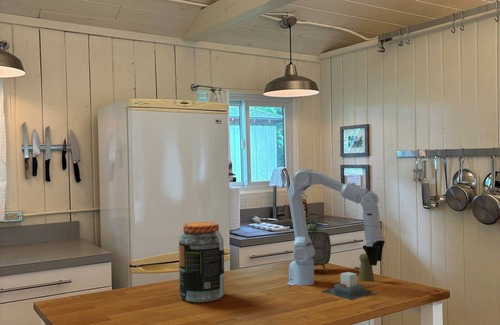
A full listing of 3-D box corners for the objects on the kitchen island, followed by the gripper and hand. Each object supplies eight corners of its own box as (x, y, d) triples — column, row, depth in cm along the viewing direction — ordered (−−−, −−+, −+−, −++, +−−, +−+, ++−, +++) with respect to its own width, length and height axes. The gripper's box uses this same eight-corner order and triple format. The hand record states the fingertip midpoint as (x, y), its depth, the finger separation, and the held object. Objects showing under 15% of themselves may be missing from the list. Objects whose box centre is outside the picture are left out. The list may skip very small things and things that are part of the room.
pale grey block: (340, 291, 176) (340, 273, 176) (348, 289, 179) (347, 271, 179) (349, 294, 173) (349, 275, 173) (357, 292, 175) (357, 273, 175)
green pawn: (374, 284, 190) (374, 255, 189) (358, 283, 191) (358, 255, 191) (373, 280, 196) (373, 252, 195) (358, 279, 197) (358, 252, 197)
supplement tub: (232, 294, 178) (232, 222, 177) (208, 306, 164) (207, 228, 164) (196, 289, 185) (195, 219, 185) (170, 300, 171) (169, 225, 171)
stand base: (320, 294, 177) (320, 282, 177) (346, 287, 186) (346, 275, 186) (351, 303, 166) (351, 290, 166) (377, 295, 175) (377, 283, 175)
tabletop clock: (296, 274, 207) (296, 214, 207) (294, 269, 216) (293, 211, 216) (331, 273, 207) (330, 214, 207) (327, 268, 216) (327, 211, 216)
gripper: (379, 227, 170) (383, 267, 170) (387, 222, 183) (391, 259, 183) (358, 228, 173) (362, 267, 173) (368, 223, 186) (371, 259, 186)
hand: (375, 263), depth 178 cm, fingers open, 7 cm apart
